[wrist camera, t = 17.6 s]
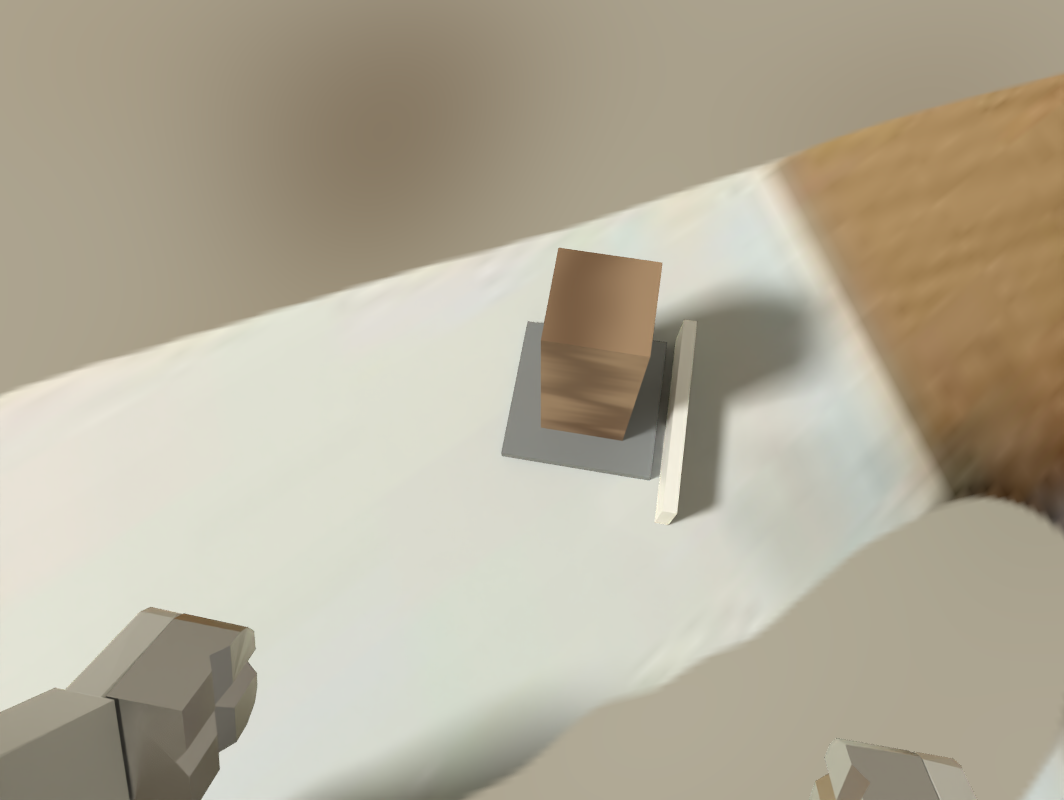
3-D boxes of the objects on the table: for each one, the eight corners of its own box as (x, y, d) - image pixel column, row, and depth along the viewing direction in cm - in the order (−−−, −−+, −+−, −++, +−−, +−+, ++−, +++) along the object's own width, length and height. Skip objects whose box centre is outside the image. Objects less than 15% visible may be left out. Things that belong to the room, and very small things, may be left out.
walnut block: (632, 366, 46) (662, 262, 35) (622, 441, 44) (650, 356, 33) (554, 354, 46) (558, 247, 35) (540, 427, 44) (540, 340, 33)
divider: (687, 343, 47) (697, 321, 44) (668, 525, 43) (677, 513, 40) (675, 341, 47) (683, 319, 44) (654, 522, 43) (662, 511, 40)
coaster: (665, 346, 47) (667, 342, 46) (649, 480, 44) (650, 477, 43) (527, 325, 48) (527, 321, 47) (501, 455, 44) (501, 452, 44)
